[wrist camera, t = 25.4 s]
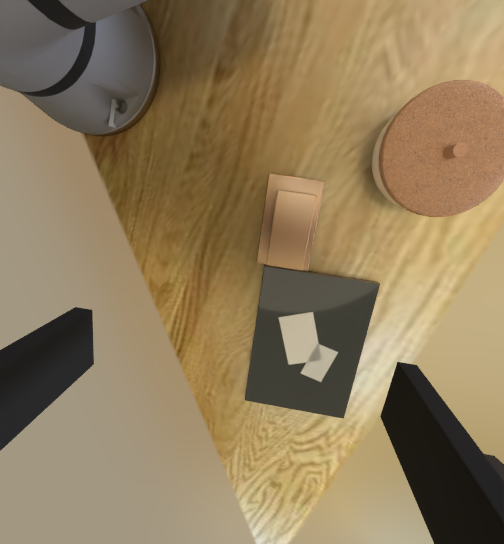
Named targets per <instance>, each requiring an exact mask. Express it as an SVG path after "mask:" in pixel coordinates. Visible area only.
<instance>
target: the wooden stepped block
mask: <svg viewBox="0 0 504 544" xmlns="http://www.w3.org/2000/svg"><path fill="white" fill-rule="evenodd" d="M324 185H325V181H321V180H314V179H307V178H299V177H292V176H285V175H277V174H269V179H268V186H267V193H266V200H265V207H264V214H263V221H262V228H261V235H260V242H259V249H258V256H257V263H262V264H266V265H270V266H276V267H282V268H289V269H295V270H301V271H302V270H306V271H307V270H308V266H309V261H310V256H311V251H312V246H313V241H314V236H315V231H316V226H317V221H318V216H319V211H320V205H321V200H322V195H323V190H324Z"/></svg>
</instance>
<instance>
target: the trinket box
mask: <svg viewBox="0 0 504 544" xmlns="http://www.w3.org/2000/svg"><path fill="white" fill-rule="evenodd" d="M372 172H373V177H374V180H375V183H376V185H377V186H378V188H379V190H380V191H381V193H382V194H383V195H384V196H385V197H386V198H387V199H388V200H389V201H390V202H392V203H393V204H395V205H397V206H398V207H400V208H402V209H405V210H408V211H410V212H413V213H416V214H419V215H424V216H429V217H445V216H452V215H456V214H459V213H462V212H465V211H467V210H470V209H472V208H473V207H475V206H477V205H479V204H480V203H482V202H483V201H484V200H486V199H487V198H488V197H489V196H490V195H491V194H492V193H493V192H495V191H496V190H497V189H498V187H499V186H500V185H501V183H502V182H503V181H504V97H503V96H502V95H501V94H500V93H499V92H498V91H497V90H495V89H493V88H492V87H490V86H488V85H485V84H483V83H480V82H476V81H470V80H454V81H448V82H444V83H441V84H438V85H435V86H432V87H430V88H429V89H427V90H425V91H423V92H421V93H420V94H418V95H417V96H415V97H414V98H413V99H411V100H410V101H409V102H408V103H407V104H406V105H404V106H403V107H402V108H401V109H400V110H399V111H398V112H397V113H396V114H395V115H394V116H393V117H392V118H391V119H390V121H389V122H388V123H387V124H386V125H385V127H384V128H383V130H382V132H381V133H380V135H379V137H378V139H377V142H376V144H375V147H374V151H373V156H372Z"/></svg>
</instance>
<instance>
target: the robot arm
mask: <svg viewBox="0 0 504 544" xmlns="http://www.w3.org/2000/svg"><path fill="white" fill-rule="evenodd" d="M145 1H148V0H0V86H3V87H6V88H9V89H12V90H15V91H17V92H20V93H21V94H23V95H24V96H25V97H26V98H28V99H29V100H30V101H31V102H33V103H34V104H35V105H36V106H37V107H39V108H40V109H41V110H42V111H43V112H45V113H46V114H47V115H48V116H50V117H51V118H53V119H54V120H55V121H57V122H59V123H60V124H62V125H64V126H66V127H68V128H70V129H73V130H75V131H78V132H82V133H85V134H89V135H94V136H108V135H114V134H117V133H120V132H122V131H125V130H126V129H128V128H130V127H131V126H133V125H134V124H135V123H136V122H138V121H139V120H140V119H141V117H142V116H143V115H144V114H145V112H146V111H147V110H148V108H149V106H150V104H151V102H152V100H153V98H154V95H155V93H156V89H157V85H158V80H159V72H160V57H159V49H158V43H157V39H156V35H155V33H154V30H153V27H152V25H151V22H150V20H149V18H148V16H147V15H146V13H145V11H144V10H143V8H142V7H141V5H140V3H143V2H145ZM92 326H93V322H92V310H89V309H83V308H77V307H75V308H73V309H72V310H70V311H68V312H66V313H65V314H63V315H61V316H59V317H58V318H56V319H54V320H52V321H51V322H49V323H47V324H45V325H44V326H42V327H40V328H38V329H37V330H35V331H33V332H31V333H29V334H28V335H26V336H24V337H23V338H21V339H19V340H17V341H15V342H14V343H12V344H10V345H8V346H7V347H5V348H3V349H1V350H0V450H2V449H3V448H4V447H5V446H6V445H7V444H8V443H9V442H10V441H11V440H12V439H13V438H15V437H16V436H17V435H18V434H19V433H20V432H21V431H22V430H23V429H24V428H25V427H26V426H27V425H29V424H30V423H31V422H32V421H33V420H34V419H35V418H36V417H37V416H38V415H39V414H40V413H42V412H43V411H44V410H45V409H46V408H47V407H48V406H49V405H50V404H51V403H52V402H53V401H55V400H56V399H57V398H58V397H59V396H60V395H61V394H62V393H63V392H64V391H65V390H66V389H67V388H69V387H70V386H71V385H72V384H73V383H74V382H75V381H76V380H77V379H78V378H79V377H80V376H82V375H83V374H84V373H85V372H86V371H87V370H88V369H89V368H90V367H91V366H92V365H93V364H94V360H93V359H94V358H93V327H92ZM381 419H382V421H383V423H384V426H385V428H386V431H387V433H388V435H389V437H390V440H391V443H392V445H393V447H394V449H395V452H396V454H397V457H398V459H399V461H400V464H401V466H402V468H403V471H404V473H405V475H406V478H407V480H408V483H409V485H410V487H411V490H412V492H413V495H414V497H415V499H416V501H417V504H418V506H419V509H420V511H421V513H422V516H423V518H424V521H425V523H426V525H427V528H428V530H429V532H430V535H431V537H432V539H433V542H434V544H504V464H503V463H502V462H500V461H499V460H498V459H497V458H496V457H495V456H491V455H486V454H483V453H482V451H481V450H480V449H479V447H478V446H477V445H476V443H475V442H474V441H473V439H472V438H471V437H470V435H469V434H468V433H467V431H466V430H465V429H464V427H463V426H462V425H461V423H460V422H459V421H458V420H457V418H456V417H455V416H454V414H453V413H452V411H451V410H450V409H449V408H448V406H447V405H446V404H445V402H444V401H443V400H442V398H441V397H440V396H439V394H438V393H437V392H436V390H435V389H434V388H433V386H432V385H431V383H430V382H429V381H428V380H427V378H426V377H425V376H424V374H423V373H422V372H421V370H420V369H419V368H418V366H417V365H413V364H407V363H401V362H397V366H396V369H395V372H394V375H393V378H392V381H391V385H390V388H389V391H388V394H387V397H386V401H385V404H384V407H383V410H382V413H381Z"/></svg>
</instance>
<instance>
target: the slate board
mask: <svg viewBox="0 0 504 544" xmlns="http://www.w3.org/2000/svg"><path fill="white" fill-rule="evenodd" d="M379 286H380V283H379V282H376V281H369V280H363V279H356V278H350V277H343V276H337V275H330V274H324V273H317V272H311V271H304V270H302V271H301V270H295V269H289V268H282V267H276V266H270V265H265V267H264V274H263V280H262V287H261V294H260V301H259V307H258V314H257V321H256V328H255V334H254V341H253V348H252V355H251V361H250V368H249V375H248V381H247V388H246V395H245V400H246V401H252V402H257V403H263V404H268V405H274V406H279V407H284V408H290V409H295V410H301V411H306V412H312V413H317V414H323V415H328V416H333V417H339V418H344V415H345V411H346V408H347V404H348V400H349V397H350V393H351V389H352V385H353V382H354V378H355V374H356V371H357V367H358V363H359V360H360V356H361V352H362V348H363V345H364V341H365V337H366V334H367V330H368V326H369V323H370V319H371V315H372V312H373V308H374V304H375V300H376V297H377V293H378V289H379Z"/></svg>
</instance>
